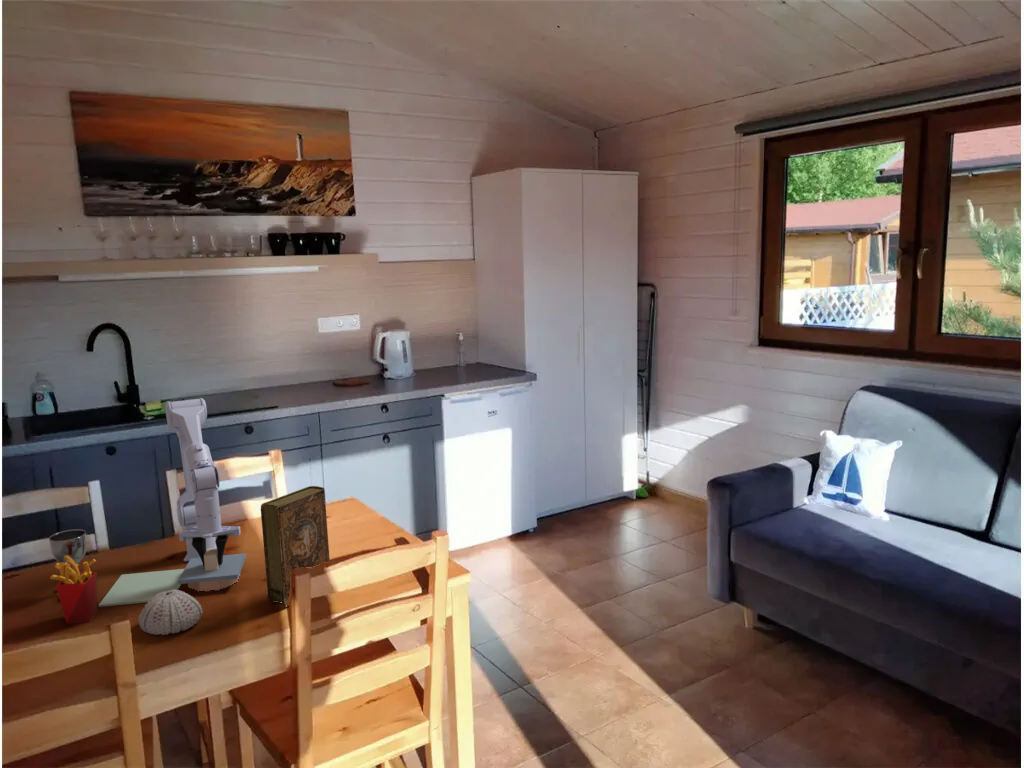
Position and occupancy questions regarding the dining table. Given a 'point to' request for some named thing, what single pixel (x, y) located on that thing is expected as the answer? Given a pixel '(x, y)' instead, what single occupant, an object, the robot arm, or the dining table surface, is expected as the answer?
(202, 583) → the bowl
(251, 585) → the dining table surface
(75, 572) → the french fries
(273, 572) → the book
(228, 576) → the lid
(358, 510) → the dining table surface
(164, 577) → the mat
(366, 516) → the dining table surface
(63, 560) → the silver goblet
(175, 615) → the sea urchin shell
